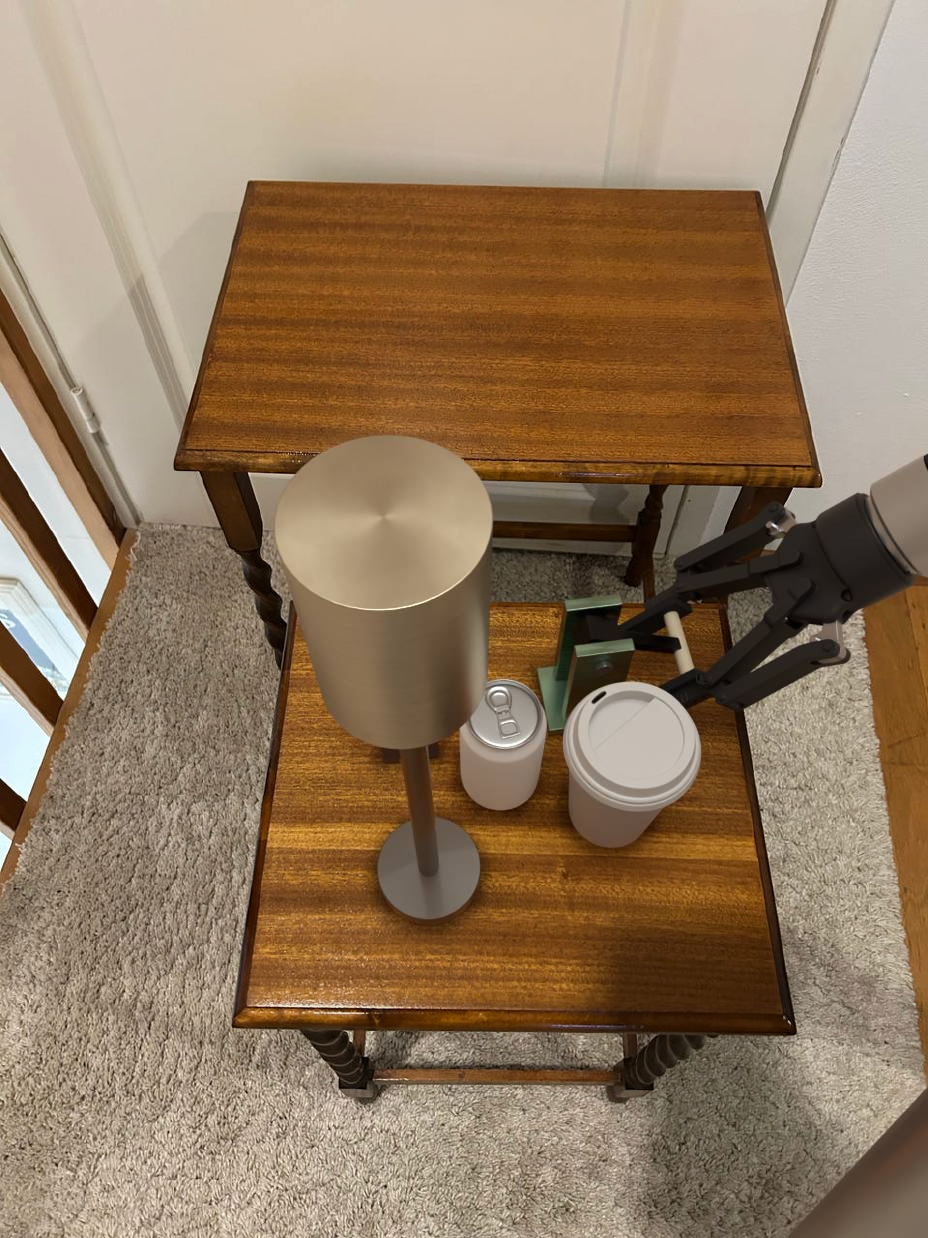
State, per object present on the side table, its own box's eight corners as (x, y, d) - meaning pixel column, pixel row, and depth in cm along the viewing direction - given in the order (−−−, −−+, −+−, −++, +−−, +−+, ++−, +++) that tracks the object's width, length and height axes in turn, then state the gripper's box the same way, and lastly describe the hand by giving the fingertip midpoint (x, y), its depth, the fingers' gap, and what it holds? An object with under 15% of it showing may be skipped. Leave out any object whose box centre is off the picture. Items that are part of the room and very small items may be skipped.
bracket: (613, 664, 83) (635, 585, 72) (628, 725, 80) (654, 653, 69) (535, 674, 82) (546, 596, 72) (548, 736, 79) (561, 665, 68)
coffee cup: (638, 740, 79) (670, 654, 66) (687, 845, 74) (732, 775, 62) (532, 774, 78) (544, 693, 65) (575, 883, 73) (598, 819, 60)
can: (524, 730, 80) (532, 663, 69) (549, 800, 76) (561, 741, 66) (451, 750, 79) (448, 685, 69) (473, 821, 76) (473, 765, 65)
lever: (668, 623, 78) (684, 608, 76) (686, 687, 75) (704, 672, 73) (565, 609, 74) (580, 593, 72) (580, 676, 71) (597, 661, 69)
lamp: (501, 882, 73) (538, 532, 34) (419, 948, 71) (355, 652, 31) (439, 805, 76) (407, 403, 37) (358, 865, 74) (231, 502, 34)
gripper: (968, 667, 63) (683, 787, 76) (866, 452, 72) (629, 591, 85) (925, 637, 58) (628, 771, 71) (822, 411, 68) (578, 565, 80)
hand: (629, 673), depth 78 cm, fingers closed on lever, 6 cm apart
